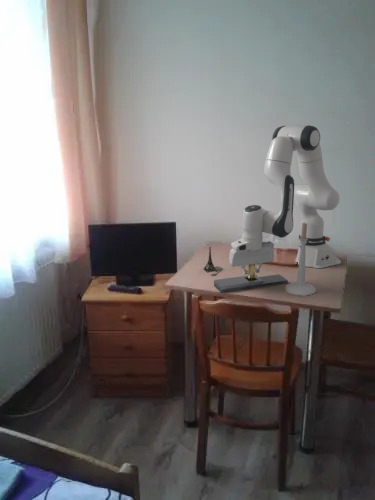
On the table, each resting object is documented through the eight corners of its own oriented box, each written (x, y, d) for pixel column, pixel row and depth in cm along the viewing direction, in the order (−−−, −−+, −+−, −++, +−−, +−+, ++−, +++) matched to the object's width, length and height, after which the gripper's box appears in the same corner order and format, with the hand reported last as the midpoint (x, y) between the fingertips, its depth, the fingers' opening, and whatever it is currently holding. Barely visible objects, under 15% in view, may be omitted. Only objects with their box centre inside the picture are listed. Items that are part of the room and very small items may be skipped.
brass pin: (252, 282, 201) (253, 261, 198) (255, 285, 198) (256, 264, 195) (246, 283, 200) (247, 262, 197) (249, 286, 197) (250, 264, 194)
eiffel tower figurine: (215, 277, 210) (215, 250, 206) (195, 275, 214) (195, 248, 210) (225, 267, 223) (225, 241, 219) (206, 265, 227) (206, 239, 223)
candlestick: (284, 294, 188) (288, 225, 179) (285, 283, 200) (288, 218, 191) (316, 297, 185) (321, 226, 176) (315, 285, 197) (320, 219, 188)
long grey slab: (279, 277, 207) (279, 271, 206) (287, 283, 200) (287, 277, 199) (214, 285, 199) (214, 280, 198) (220, 292, 191) (220, 286, 190)
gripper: (270, 238, 199) (269, 268, 203) (227, 243, 194) (227, 273, 198) (277, 242, 193) (275, 272, 198) (233, 247, 188) (232, 278, 192)
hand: (251, 273), depth 198 cm, fingers open, 4 cm apart
